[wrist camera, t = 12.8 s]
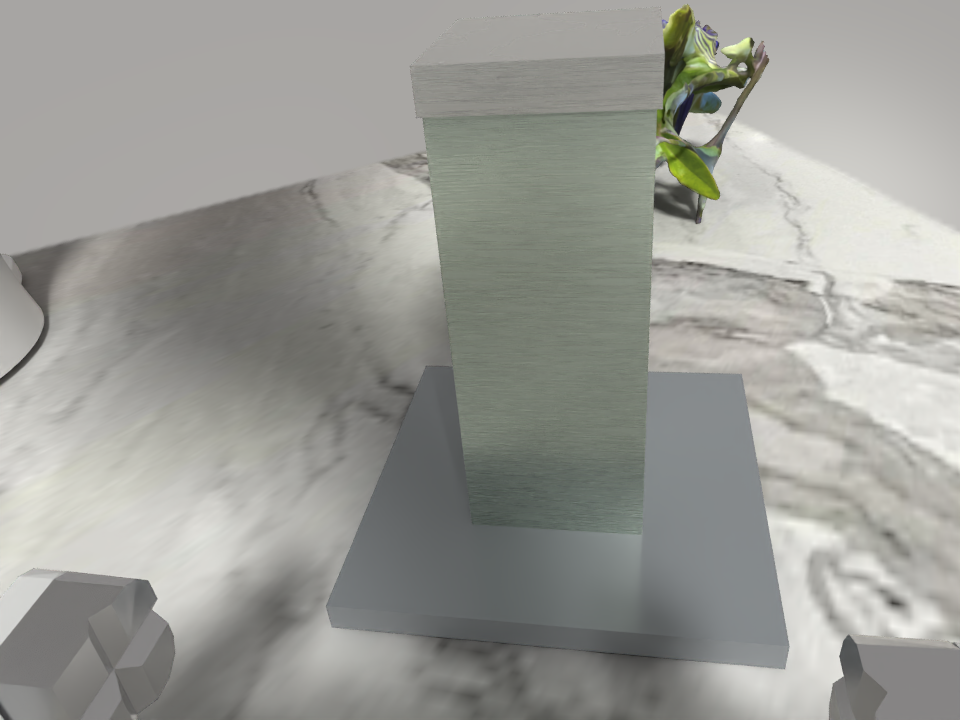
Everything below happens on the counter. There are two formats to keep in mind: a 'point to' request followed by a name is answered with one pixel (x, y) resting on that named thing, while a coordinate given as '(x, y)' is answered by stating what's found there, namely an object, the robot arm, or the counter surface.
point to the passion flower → (699, 97)
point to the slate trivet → (578, 543)
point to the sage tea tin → (547, 256)
